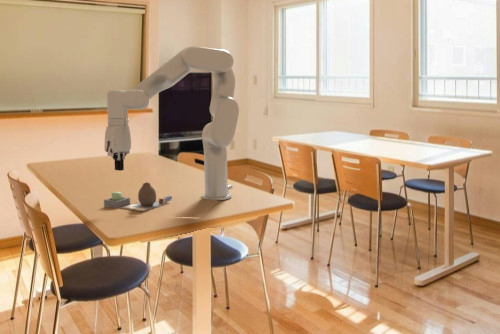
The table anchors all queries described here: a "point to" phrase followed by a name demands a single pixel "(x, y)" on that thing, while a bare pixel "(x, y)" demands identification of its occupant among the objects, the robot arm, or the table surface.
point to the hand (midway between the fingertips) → (119, 169)
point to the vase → (147, 195)
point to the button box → (116, 202)
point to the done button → (116, 196)
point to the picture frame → (142, 207)
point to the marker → (165, 199)
